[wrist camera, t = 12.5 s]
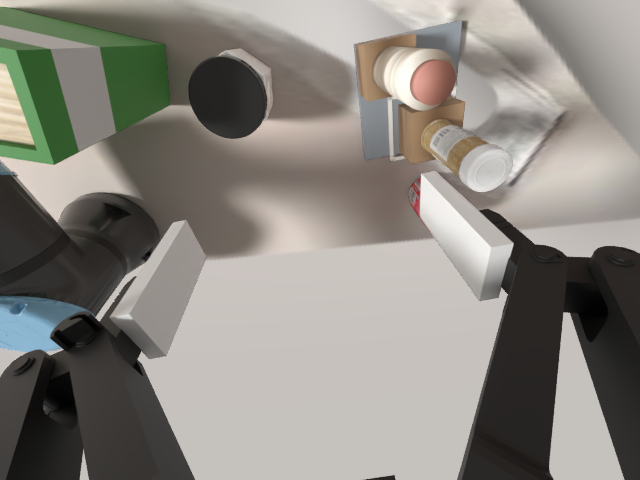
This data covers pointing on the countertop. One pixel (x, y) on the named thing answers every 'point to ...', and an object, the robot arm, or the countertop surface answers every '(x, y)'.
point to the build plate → (383, 113)
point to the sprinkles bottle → (467, 155)
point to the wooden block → (424, 126)
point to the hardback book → (72, 85)
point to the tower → (404, 72)
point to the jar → (231, 93)
